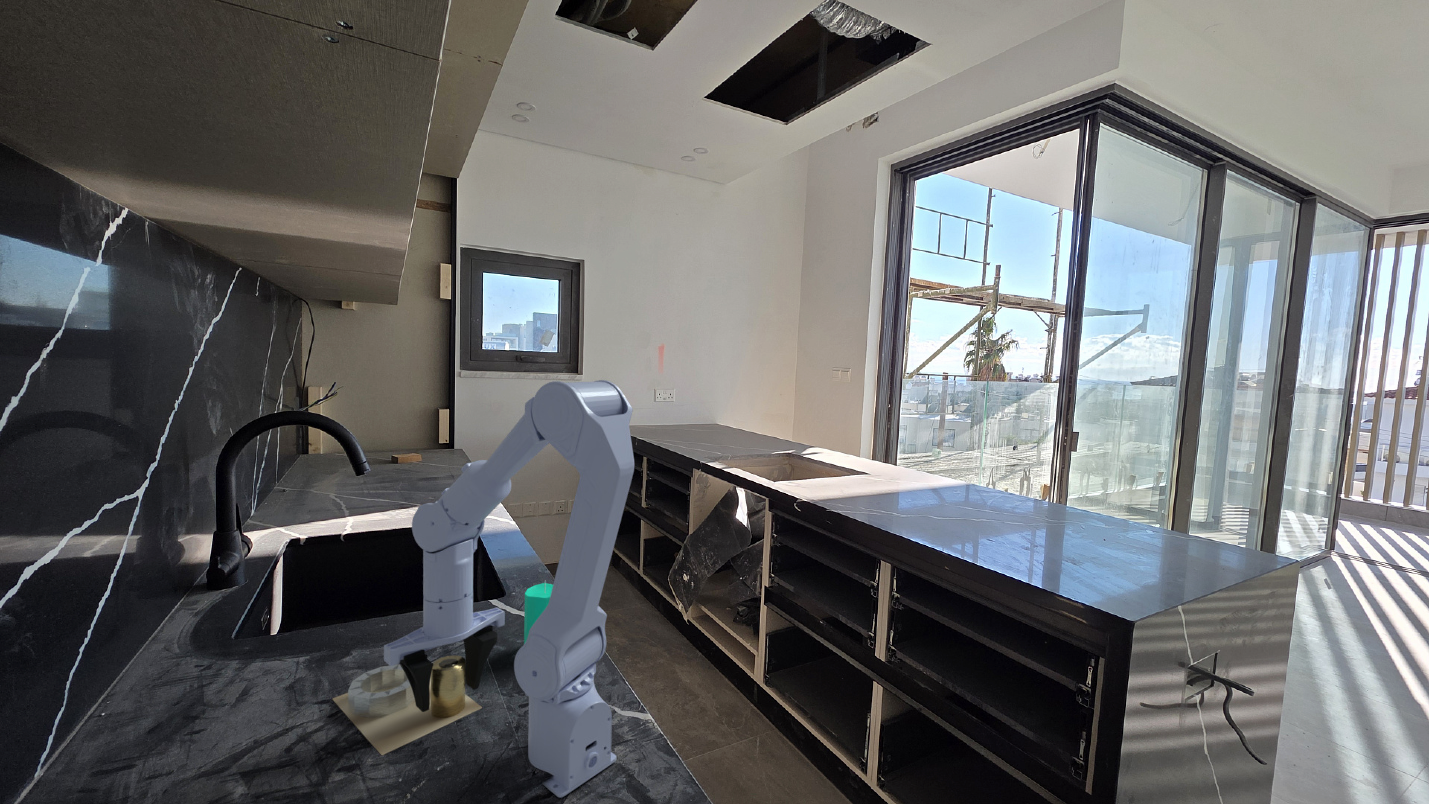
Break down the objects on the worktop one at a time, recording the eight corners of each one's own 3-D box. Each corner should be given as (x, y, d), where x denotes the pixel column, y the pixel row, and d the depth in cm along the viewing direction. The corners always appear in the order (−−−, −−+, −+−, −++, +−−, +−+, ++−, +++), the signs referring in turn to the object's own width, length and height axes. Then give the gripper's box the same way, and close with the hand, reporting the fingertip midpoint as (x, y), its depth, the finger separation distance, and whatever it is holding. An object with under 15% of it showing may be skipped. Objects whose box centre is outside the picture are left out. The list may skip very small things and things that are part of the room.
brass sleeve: (471, 707, 73) (471, 662, 73) (439, 722, 70) (440, 675, 70) (455, 695, 76) (456, 651, 75) (425, 709, 73) (425, 663, 72)
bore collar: (428, 697, 75) (428, 679, 75) (363, 725, 69) (363, 706, 69) (403, 675, 80) (403, 658, 80) (340, 700, 74) (340, 681, 74)
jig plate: (482, 715, 74) (482, 707, 73) (381, 763, 64) (381, 755, 64) (426, 669, 84) (426, 663, 84) (332, 706, 74) (332, 698, 74)
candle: (552, 668, 85) (553, 590, 84) (516, 662, 86) (517, 585, 86) (570, 648, 91) (571, 575, 90) (536, 643, 92) (537, 571, 91)
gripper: (486, 570, 80) (485, 663, 81) (373, 601, 69) (374, 709, 70) (513, 584, 76) (512, 682, 77) (397, 619, 64) (398, 734, 65)
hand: (448, 696), depth 73 cm, fingers open, 6 cm apart
